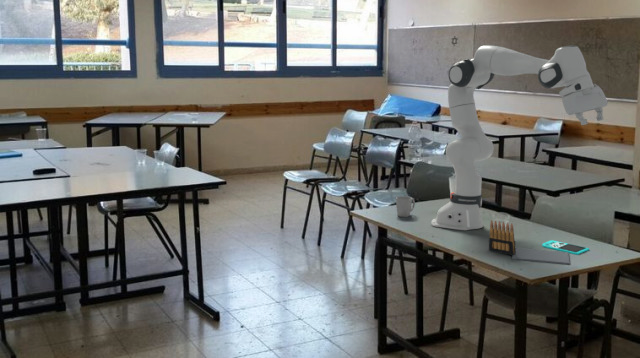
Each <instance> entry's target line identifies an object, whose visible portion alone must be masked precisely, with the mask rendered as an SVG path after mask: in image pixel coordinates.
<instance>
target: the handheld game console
mask: <svg viewBox="0 0 640 358" xmlns="http://www.w3.org/2000/svg"><path fill="white" fill-rule="evenodd" d="M541 245H542V246H541V247H542V248H546V249H550V250H553V251H559V252H568V254H572V255H576V256H578V255H581V253H582V254H583V252H584V253H585V251H586V252H588V251H590V248H589V247H585V246H579V245H576V244H571V243H567V242H561V241H557V240H553V239H550V240H548V241H545V242H543V243H542V244H541Z"/></svg>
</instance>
